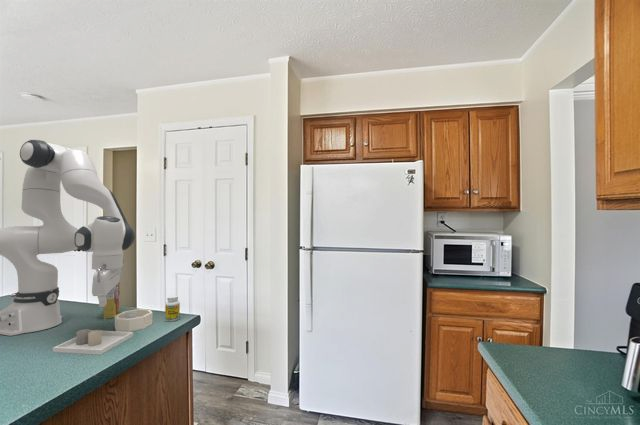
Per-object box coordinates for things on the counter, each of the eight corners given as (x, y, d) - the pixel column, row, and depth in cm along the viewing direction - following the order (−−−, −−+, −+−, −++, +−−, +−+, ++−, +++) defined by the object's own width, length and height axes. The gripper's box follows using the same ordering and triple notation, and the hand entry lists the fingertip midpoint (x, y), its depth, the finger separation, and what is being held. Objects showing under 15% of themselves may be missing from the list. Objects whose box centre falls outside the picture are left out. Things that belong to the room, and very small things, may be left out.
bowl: (107, 332, 108) (107, 318, 108) (130, 320, 120) (130, 308, 120) (137, 333, 107) (137, 320, 107) (157, 321, 119) (158, 309, 119)
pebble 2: (84, 345, 95) (85, 333, 95) (94, 341, 99) (94, 329, 99) (95, 346, 95) (95, 334, 95) (104, 341, 99) (104, 329, 99)
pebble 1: (73, 345, 96) (73, 332, 96) (82, 340, 99) (83, 328, 99) (83, 345, 95) (83, 333, 96) (92, 340, 99) (93, 329, 99)
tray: (52, 354, 91) (52, 347, 91) (91, 335, 105) (91, 330, 105) (100, 356, 89) (100, 350, 89) (133, 337, 103) (133, 332, 103)
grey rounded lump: (122, 326, 112) (122, 315, 112) (128, 322, 115) (128, 312, 115) (132, 326, 112) (132, 315, 112) (137, 322, 116) (137, 312, 116)
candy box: (108, 312, 130) (109, 278, 130) (119, 311, 131) (120, 277, 132) (102, 319, 121) (103, 282, 122) (114, 317, 123) (115, 281, 123)
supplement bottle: (178, 316, 126) (178, 294, 126) (180, 320, 121) (180, 297, 122) (164, 318, 123) (165, 295, 123) (165, 322, 118) (166, 299, 119)
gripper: (110, 267, 93) (109, 310, 93) (124, 258, 112) (124, 293, 112) (86, 268, 91) (85, 312, 91) (105, 258, 110) (104, 295, 110)
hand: (106, 302), depth 102 cm, fingers open, 8 cm apart
